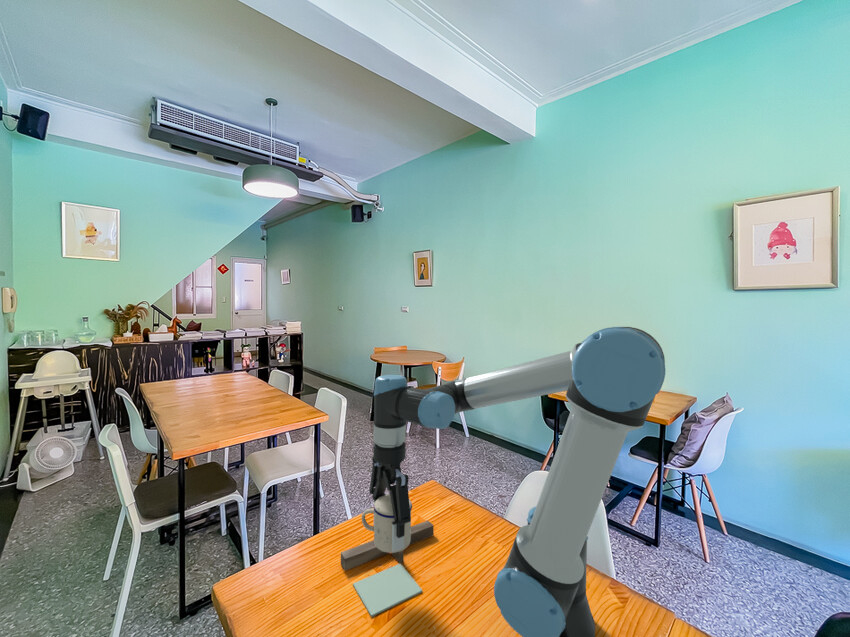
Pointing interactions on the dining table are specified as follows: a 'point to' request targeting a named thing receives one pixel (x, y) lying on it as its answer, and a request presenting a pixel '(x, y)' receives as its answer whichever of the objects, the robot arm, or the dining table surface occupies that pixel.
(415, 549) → the dining table surface
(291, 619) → the dining table surface
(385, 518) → the teacup with lid
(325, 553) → the dining table surface
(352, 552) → the grey long bar
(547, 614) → the robot arm
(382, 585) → the mat
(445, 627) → the dining table surface
